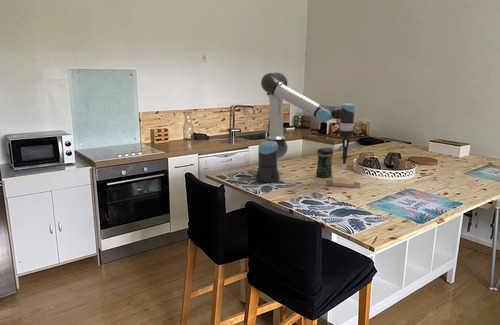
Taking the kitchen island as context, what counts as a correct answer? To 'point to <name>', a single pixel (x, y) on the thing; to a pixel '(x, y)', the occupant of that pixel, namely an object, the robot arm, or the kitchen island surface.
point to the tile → (342, 182)
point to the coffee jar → (324, 162)
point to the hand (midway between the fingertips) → (343, 168)
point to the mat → (329, 183)
